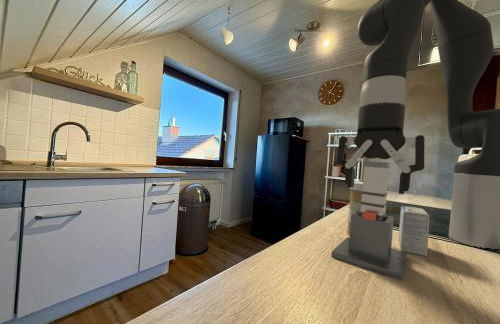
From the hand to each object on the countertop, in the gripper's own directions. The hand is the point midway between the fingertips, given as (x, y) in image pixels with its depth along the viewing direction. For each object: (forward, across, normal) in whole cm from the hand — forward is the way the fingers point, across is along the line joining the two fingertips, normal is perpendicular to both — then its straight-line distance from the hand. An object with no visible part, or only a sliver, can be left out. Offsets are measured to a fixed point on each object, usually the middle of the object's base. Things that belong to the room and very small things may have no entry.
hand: (374, 190), depth 41 cm
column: (+11, 0, 0) cm, 11 cm away
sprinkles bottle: (+13, +5, -12) cm, 19 cm away
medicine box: (+13, -6, -13) cm, 20 cm away
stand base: (+13, 0, 0) cm, 13 cm away
